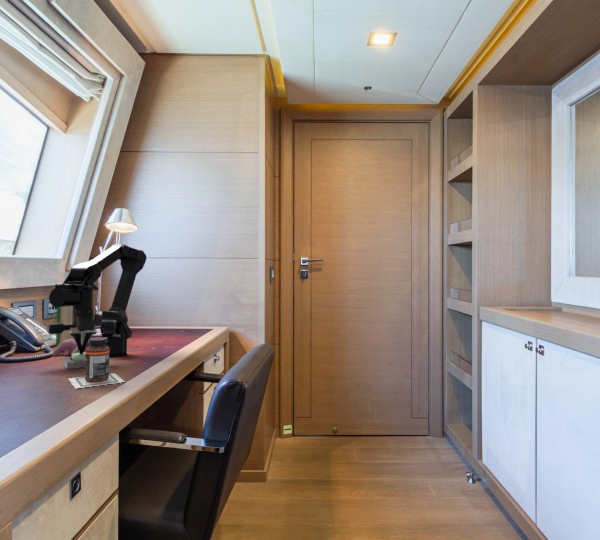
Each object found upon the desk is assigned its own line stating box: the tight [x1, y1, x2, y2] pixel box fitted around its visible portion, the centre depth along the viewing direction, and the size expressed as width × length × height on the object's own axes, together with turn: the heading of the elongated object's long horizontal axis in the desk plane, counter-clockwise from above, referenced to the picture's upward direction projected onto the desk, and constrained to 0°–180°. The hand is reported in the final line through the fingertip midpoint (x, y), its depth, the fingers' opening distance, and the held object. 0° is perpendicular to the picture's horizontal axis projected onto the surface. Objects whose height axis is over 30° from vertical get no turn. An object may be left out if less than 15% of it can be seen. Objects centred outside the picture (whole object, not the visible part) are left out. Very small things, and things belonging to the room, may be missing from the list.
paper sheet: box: [68, 372, 126, 390], centre depth 114 cm, size 12×11×1 cm
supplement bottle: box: [84, 337, 110, 382], centre depth 114 cm, size 6×6×11 cm
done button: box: [72, 351, 86, 362], centre depth 132 cm, size 5×5×2 cm
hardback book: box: [55, 306, 83, 350], centre depth 160 cm, size 18×7×24 cm, turn 21°
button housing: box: [62, 356, 85, 370], centre depth 132 cm, size 9×9×2 cm
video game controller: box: [52, 339, 82, 357], centre depth 144 cm, size 10×5×7 cm, turn 72°
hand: (81, 354), depth 132 cm, fingers closed, pressing on done button
